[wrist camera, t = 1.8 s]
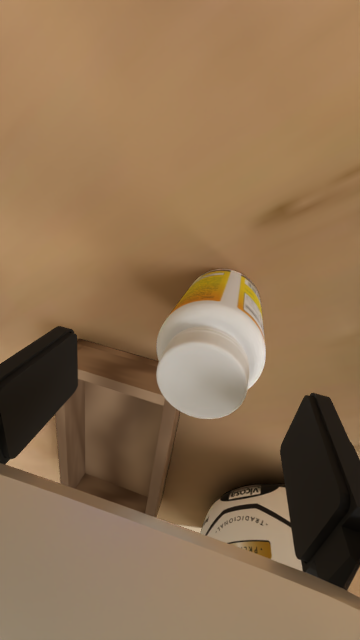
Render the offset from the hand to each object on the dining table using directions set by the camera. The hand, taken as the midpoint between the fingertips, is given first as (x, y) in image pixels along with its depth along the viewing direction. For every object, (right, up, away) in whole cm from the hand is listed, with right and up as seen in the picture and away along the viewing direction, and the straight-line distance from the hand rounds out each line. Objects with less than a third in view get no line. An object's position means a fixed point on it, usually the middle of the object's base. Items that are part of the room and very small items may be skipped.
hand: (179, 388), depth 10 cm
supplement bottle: (+3, +4, +10) cm, 11 cm away
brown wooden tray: (-6, -9, +18) cm, 21 cm away
